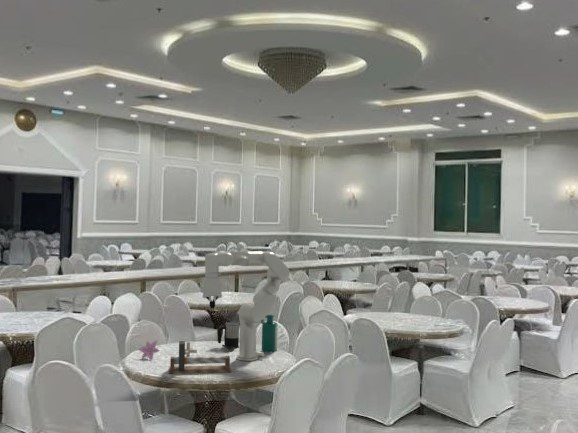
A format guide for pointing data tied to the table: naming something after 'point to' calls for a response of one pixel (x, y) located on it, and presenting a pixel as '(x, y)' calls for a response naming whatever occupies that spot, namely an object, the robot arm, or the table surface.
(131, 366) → the table surface
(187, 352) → the pipe connector
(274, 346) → the teal bottle
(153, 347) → the lily
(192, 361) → the pipe stand
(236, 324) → the milk frother
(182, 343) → the dark grey tapered slab
